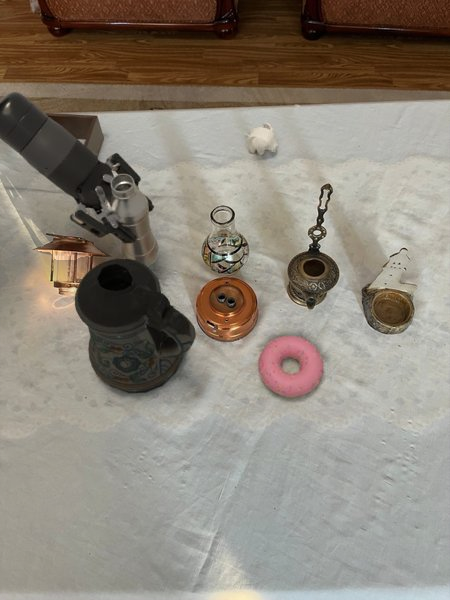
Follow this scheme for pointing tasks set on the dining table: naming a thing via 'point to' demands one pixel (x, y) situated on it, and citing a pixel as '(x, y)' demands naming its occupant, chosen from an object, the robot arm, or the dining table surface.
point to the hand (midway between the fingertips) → (142, 224)
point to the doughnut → (293, 382)
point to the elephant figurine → (262, 139)
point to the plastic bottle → (133, 219)
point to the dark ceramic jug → (131, 326)
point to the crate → (82, 129)
